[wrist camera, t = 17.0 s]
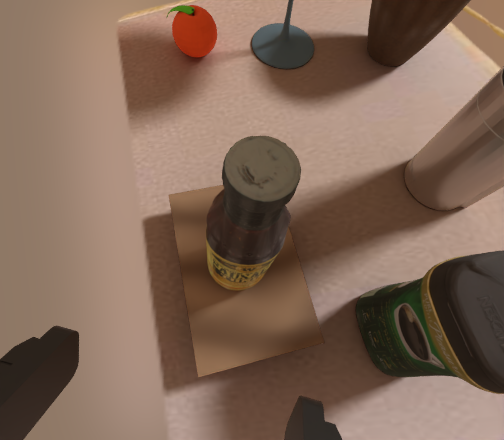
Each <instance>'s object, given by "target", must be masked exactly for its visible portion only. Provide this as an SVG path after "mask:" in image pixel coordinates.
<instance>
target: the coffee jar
mask: <svg viewBox="0 0 504 440" xmlns="http://www.w3.org/2000/svg"><path fill="white" fill-rule="evenodd" d="M356 315H357V320H358V324H359V328H360V331H361V334H362V337H363V340H364V343H365V345H366V348H367V350H368V352H369V354H370V357H371V358H372V361H373V362H374V364H375V365H376V366H377V367H378V368H379V369H380V370H381V371H382V372H384V373H385V374H387V375H391V376H397V377H418V376H454V377H458V378H461V379H463V380H465V381H466V382H468V383H470V384H471V385H473V386H475V387H477V388H479V389H482V390H484V391H488V392H492V393H497V394H504V251H495V252H488V253H482V254H475V255H469V256H460V257H455V258H452V259H448V260H446V261H443V262H441V263H439V264H437V265H435V266H434V267H432V268H431V269H430V270H429V271H428V272H427V273H426V274H425V276H424V277H423V278H421V279H417V280H413V281H409V282H403V283H398V284H392V285H387V286H383V287H380V288H376V289H374V290H371V291H369V292H367V293H365V294H363V295H362V296H361V297H360V298H359V300H358V302H357V305H356Z"/></svg>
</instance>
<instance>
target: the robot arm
mask: <svg viewBox="0 0 504 440" xmlns="http://www.w3.org/2000/svg"><path fill="white" fill-rule="evenodd" d="M404 178H405V183H406V186H407V188H408V190H409V191H410V193H411V194H412V195H413V196H414V197H415V198H416V199H417V200H418V201H419V202H420V203H422V204H424V205H425V206H427V207H430V208H432V209H436V210H445V211H446V210H452V209H454V208H457V207H464V208H467V207H468V206H470V205H472V204H474V203H475V202H477V201H479V200H481V199H482V198H484V197H486V196H488V195H489V194H491V193H493V192H495V191H496V190H498V189H500V188H502V187H503V186H504V66H503V67H502V68H501V69H500V70H499V71H498V72H497V73H496V74H495V75H494V76H493V77H492V78H491V80H490V81H489V82H488V83H487V84H486V85H485V86H484V87H483V88H482V89H481V90H480V91H479V92H478V93H477V94H476V95H475V96H474V97H473V98H472V99H471V100H470V101H469V102H468V103H467V104H466V105H465V106H464V107H463V108H462V109H461V110H460V111H459V112H458V113H457V114H456V115H455V116H454V117H453V118H452V119H451V120H450V121H449V122H448V123H447V124H446V125H445V126H444V127H443V128H442V129H441V130H440V131H439V132H438V133H437V134H436V135H435V136H434V137H433V138H432V139H431V140H430V141H429V142H428V143H427V144H426V145H425V146H424V147H423V148H422V149H421V150H420V151H419V152H418V153H417V154H416V155H415V156H414V158H413V159H412V160H411V161H410V162H409V163H408V164H407V166H406V168H405V172H404ZM78 362H79V333H78V332H77V331H74V330H71V329H67V328H63V327H60V326H54V327H52V328H51V329H50V330H49V331H48V332H46V333H45V334H44V335H43V336H42V337H41V338H40V339H38V338H35V337H32V338H30V339H28V340H26V341H25V342H23V343H21V344H19V345H17V346H15V347H14V348H12V349H11V350H10V351H9V352H8V353H7V354H6V355H5V356H3V357H2V358H1V359H0V440H23V439H24V438H25V437H26V436H27V434H28V433H29V432H30V431H31V429H32V428H33V427H34V426H35V424H36V423H37V422H38V420H39V419H40V418H41V417H42V416H43V414H44V413H45V412H46V410H47V409H48V408H49V407H50V405H51V404H52V403H53V402H54V400H55V399H56V398H57V397H58V396H59V394H60V393H61V392H62V391H63V389H64V388H65V387H66V385H67V384H68V383H69V382H70V380H71V379H72V377H73V376H74V374H75V372H76V369H77V367H78ZM284 440H342V438H341V436H340V434H339V432H338V430H337V427H336V425H335V424H332V423H329V422H325V420H324V409H323V404H322V402H321V401H317V400H314V399H310V398H307V397H303V396H299V398H298V400H297V402H296V405H295V407H294V409H293V412H292V414H291V417H290V419H289V421H288V424H287V427H286V432H285V439H284Z"/></svg>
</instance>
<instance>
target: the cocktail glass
mask: <svg viewBox="0 0 504 440" xmlns="http://www.w3.org/2000/svg"><path fill="white" fill-rule="evenodd" d="M292 5H293V0H289V2H288V7H287V13H286V18H285V22H284V24H282V23H276V24H270V25H267V26H264V27H262V28H260V29H259V30H258V31H257V32H256V33H255V35H254V36H253V39H252V48H253V51H254V53H255V54H256V56H257V57H258V58H259V59H260V60H261V61H263V62H264V63H266V64H268V65H270V66H272V67H276V68H280V69H292V68H297V67H300V66H302V65H304V64H306V63H307V62H308V61H309V60H310V59H311V57H312V55H313V52H314V45H313V42H312V40H311V38H310V37H309V36H308V34H307V33H305V32H304V31H303V30H301V29H299V28H297V27H295V26H292V25H290V18H291V11H292Z"/></svg>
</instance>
